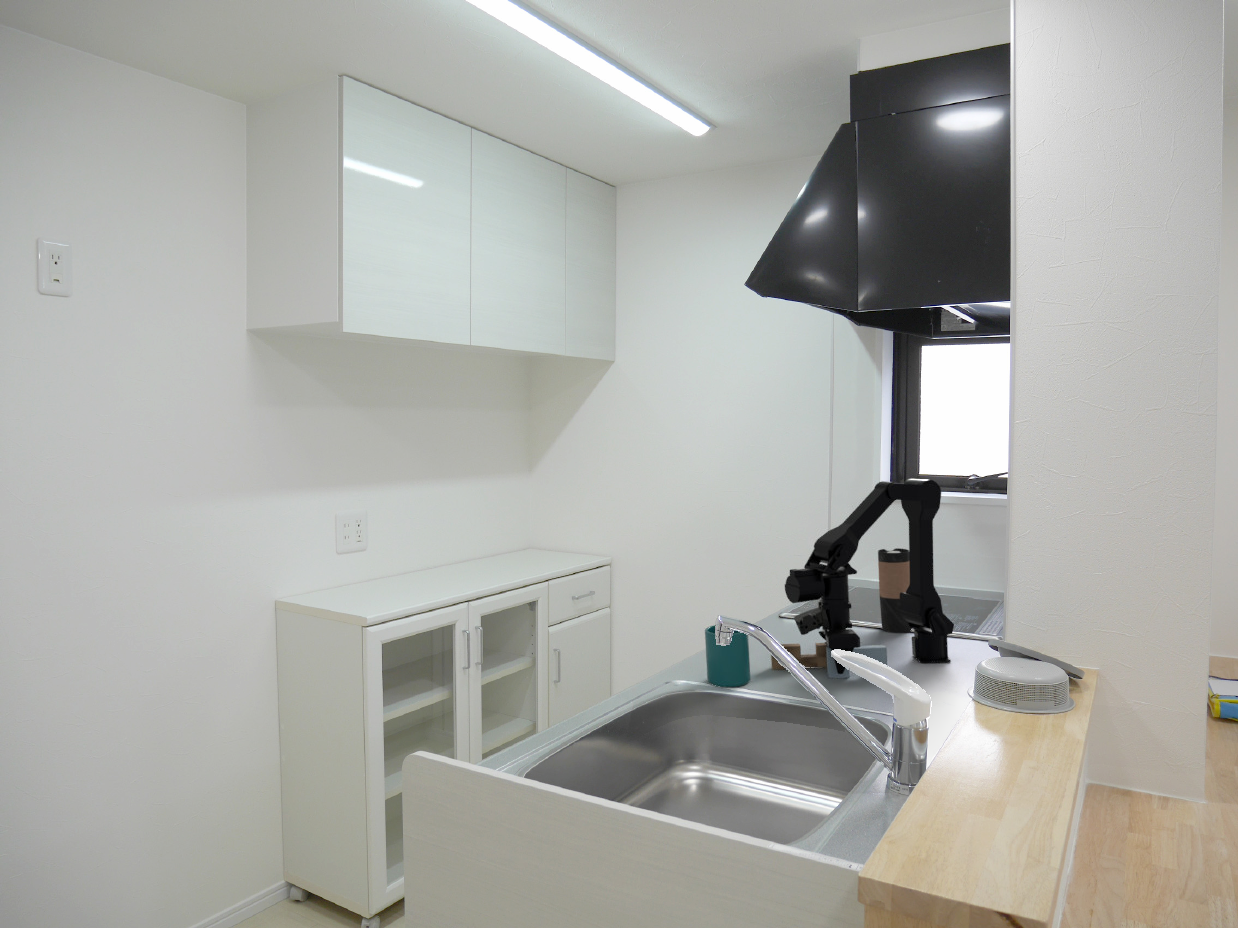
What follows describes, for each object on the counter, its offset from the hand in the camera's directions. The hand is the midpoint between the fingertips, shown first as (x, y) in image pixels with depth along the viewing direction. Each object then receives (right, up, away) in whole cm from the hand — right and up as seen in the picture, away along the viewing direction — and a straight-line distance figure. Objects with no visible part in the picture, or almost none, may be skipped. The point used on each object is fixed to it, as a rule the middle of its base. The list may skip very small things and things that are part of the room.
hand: (838, 670), depth 173 cm
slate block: (+4, -1, 0) cm, 4 cm away
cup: (-22, -3, +2) cm, 22 cm away
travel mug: (+24, +2, +34) cm, 42 cm away
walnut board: (-4, -1, +8) cm, 9 cm away
